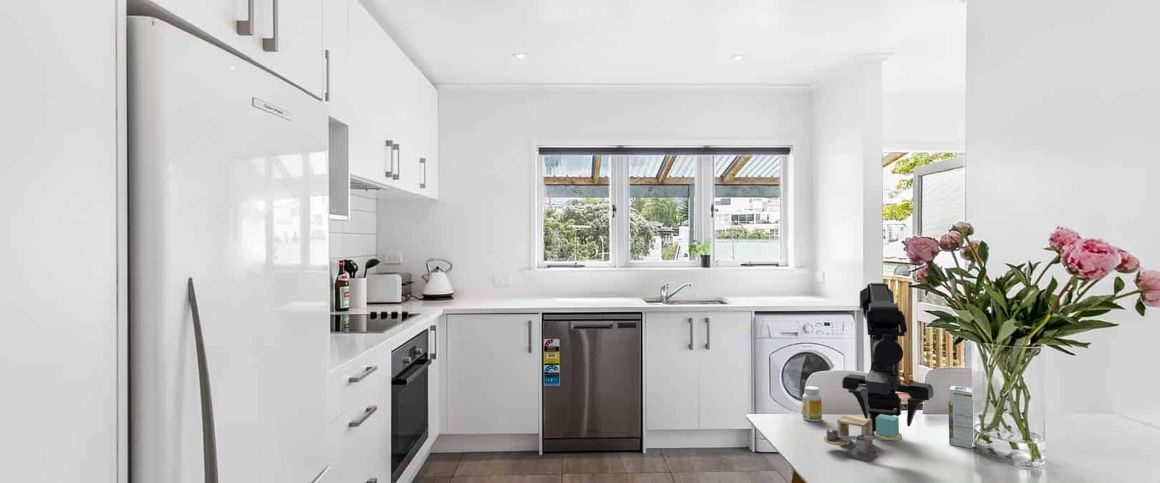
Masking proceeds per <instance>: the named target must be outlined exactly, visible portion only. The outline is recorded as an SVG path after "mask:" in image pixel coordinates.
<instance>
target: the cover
mask: <svg viewBox="0 0 1160 483" xmlns="http://www.w3.org/2000/svg"><path fill="white" fill-rule="evenodd" d="M850 426H857V427H861V434H864V435H865V436H872V419H869V418H868V419H865V417H860V416H855V415H850V414H845V415H843V416H842V417H840V418H839V419H837V431H838V436H850V428H849V427H850ZM873 442H874V440H867V449H868V448H870V447H871V446H872V445H873Z"/></svg>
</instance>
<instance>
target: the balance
mask: <svg viewBox="0 0 1160 483" xmlns="http://www.w3.org/2000/svg"><path fill="white" fill-rule="evenodd" d="M902 439H903V434H901V433H900V432H899V434H898V435H897V436H896V437H895V438H893V437H888V436H882V435H877V434H876V431H874V436H865V435H864V434H862V433H860V434H858V435H849V436H838V429H833V428H829V429H826V435H825V436H824V437H823V441H824V442H825V443H826V444H829V445H832V446H833V445H834V446H848V445H850V443H851V441H852V440H853V441H855V447H854V448H853V449H851V450H849V452H848V453H846V455H847V458H851V459H853V460H854V459H856V460H860V461H864V462H868V463H870V461H872V460H874V458H875V457H876V456H877V454H878V452H877V451H875V450H870V449H869V450H868V448H867V440H873V441H878V440H879V441H880V440H881V441H885V440H886V441H894V442H895V441H901V440H902Z"/></svg>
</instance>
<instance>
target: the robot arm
mask: <svg viewBox="0 0 1160 483" xmlns="http://www.w3.org/2000/svg"><path fill="white" fill-rule="evenodd" d="M899 308H900V307H899V306H898V304H897V303H895V298H894V291H893V290H892V289H890V288H889V284H887V283H885V282H870V283H868V284H867V285H866V287H865V288H863V289H861V290H860V291H859V309H861V310H862V316H863V318H864V319H865V321H866V330H867V335H868V336H869V347H870V369H869V372H868V373H867V374H866V376H865V375H863V374H862V375H860V374H855V373H853V374H852V373H850V374H848V375H846V376H844V377H843V378H842V380H841V385H842V386H841V387H842V389H844V390H847V391H848V393H851V394H852V395H853V396H854V397H855V398H856V400H857V402H858V404H859V406H860V409H861V411H862V414H863V416H864V418H865V419H872V436H874V431H876V417H877V416H878V415H880V414H883V415H889V416H895V417H899V416H901V415H902V399H901V398H900V395H899V393H904V394H908V396H909V397H908V398H907V399H906V401H907V414H906V415H907V416H906V424H907V427H911V424H912V423H913V420H914V417H915V416H916V415H915V414H916V412H917V409H918V408H919V405H920V404H923V403H924V402H925V401H929V400H931V399H932V398H933V397H935V396H934V388H933V385H931V383H927V382H926V383H925V382H918V381H917V382H916V381H913V382H912V383H911V384H902V383H901V377H900V365H901V364H900V363H901V361H902V359H903V358H904V351H903V347H902V345H901V344H900V342H899V338H898V337H905V333H907V332H908V331H907V330H908V328H907V322H906V316H905V315H904V312H903V311H902V310H900V309H899Z"/></svg>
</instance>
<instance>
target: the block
mask: <svg viewBox="0 0 1160 483" xmlns="http://www.w3.org/2000/svg"><path fill="white" fill-rule="evenodd" d="M899 420H900V419H899V416H889V415H883V414H880V415H878V416H877V417H876V434H877V435H882V436H888V437H893V438H895V437H896V436H897V435H898V434H899V433H900V429H899V428H900V426H899V425H900V423H899Z"/></svg>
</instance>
